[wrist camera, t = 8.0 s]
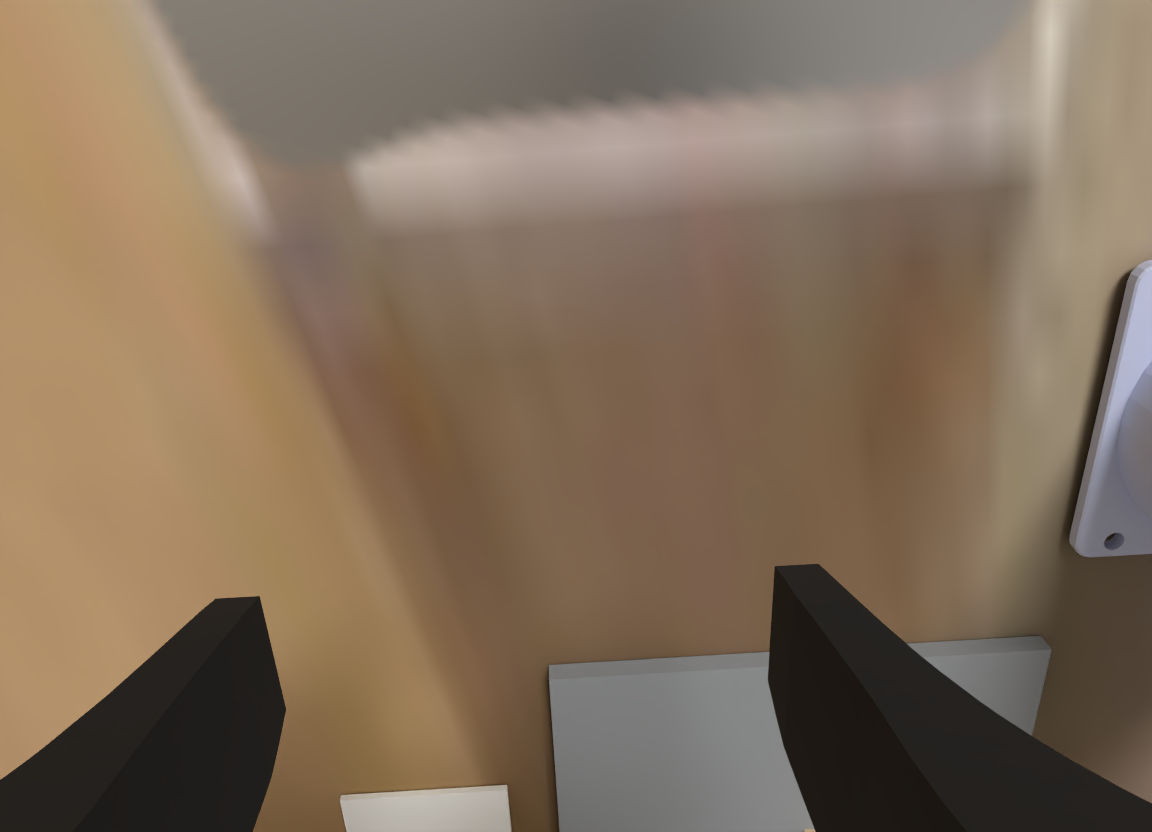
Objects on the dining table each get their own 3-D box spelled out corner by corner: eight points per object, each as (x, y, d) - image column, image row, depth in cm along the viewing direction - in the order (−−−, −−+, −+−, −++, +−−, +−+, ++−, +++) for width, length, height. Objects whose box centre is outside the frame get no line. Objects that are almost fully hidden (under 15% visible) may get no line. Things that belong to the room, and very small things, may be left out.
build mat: (1041, 635, 26) (1051, 649, 25) (978, 916, 31) (985, 933, 31) (548, 664, 26) (548, 679, 25) (568, 943, 31) (568, 960, 30)
